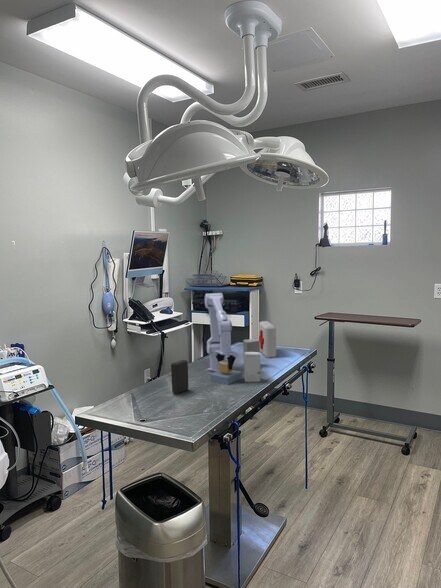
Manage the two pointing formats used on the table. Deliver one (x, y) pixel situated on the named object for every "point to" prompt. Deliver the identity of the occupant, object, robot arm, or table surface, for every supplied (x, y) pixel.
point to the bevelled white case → (267, 339)
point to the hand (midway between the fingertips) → (226, 368)
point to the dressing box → (226, 377)
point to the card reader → (179, 376)
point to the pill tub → (224, 366)
